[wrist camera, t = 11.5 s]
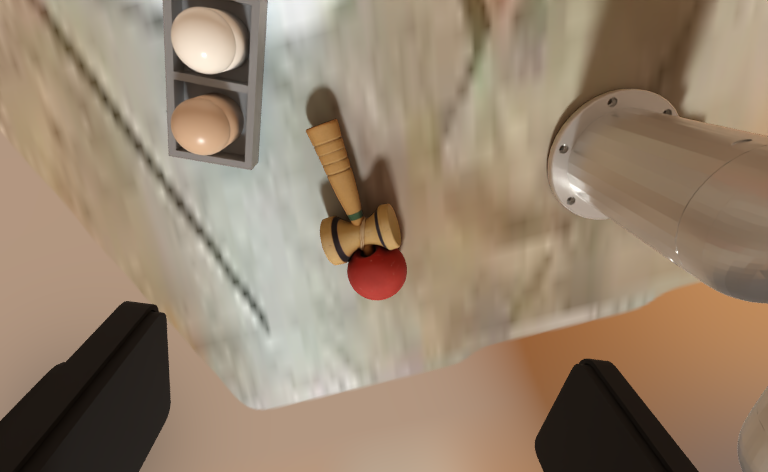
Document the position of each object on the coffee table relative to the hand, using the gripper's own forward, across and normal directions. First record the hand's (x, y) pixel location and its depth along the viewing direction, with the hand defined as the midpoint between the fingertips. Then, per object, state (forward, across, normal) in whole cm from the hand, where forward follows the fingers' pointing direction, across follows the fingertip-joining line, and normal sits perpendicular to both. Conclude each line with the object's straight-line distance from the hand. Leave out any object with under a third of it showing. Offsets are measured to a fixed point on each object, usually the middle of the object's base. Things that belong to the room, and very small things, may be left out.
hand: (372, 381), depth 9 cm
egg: (+30, +13, -5) cm, 33 cm away
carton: (+30, +13, -2) cm, 33 cm away
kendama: (+31, 0, +8) cm, 32 cm away
